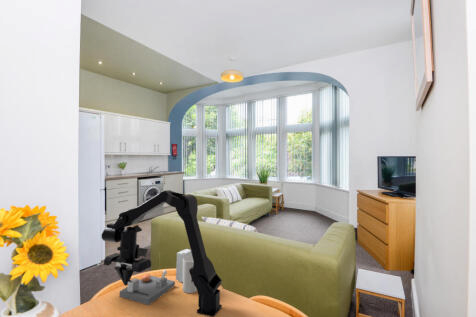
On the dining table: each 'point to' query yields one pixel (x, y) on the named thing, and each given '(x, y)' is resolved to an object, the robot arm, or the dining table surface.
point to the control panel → (148, 290)
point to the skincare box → (181, 263)
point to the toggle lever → (163, 276)
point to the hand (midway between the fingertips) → (126, 285)
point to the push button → (146, 278)
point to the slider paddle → (133, 285)
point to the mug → (188, 275)
